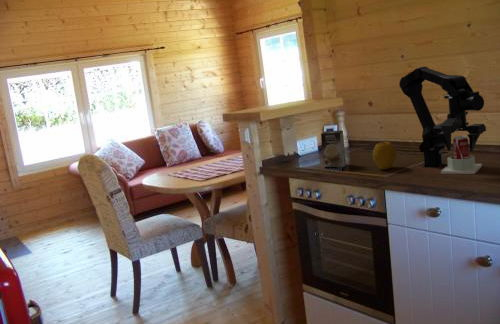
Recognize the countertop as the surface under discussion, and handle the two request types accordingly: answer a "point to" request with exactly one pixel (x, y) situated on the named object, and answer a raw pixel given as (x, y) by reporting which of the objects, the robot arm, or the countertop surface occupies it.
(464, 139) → the soda can
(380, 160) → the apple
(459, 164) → the can holder
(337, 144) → the coffee box
